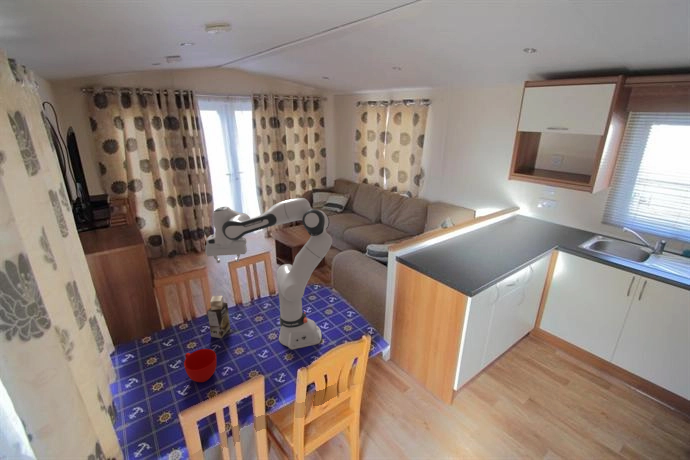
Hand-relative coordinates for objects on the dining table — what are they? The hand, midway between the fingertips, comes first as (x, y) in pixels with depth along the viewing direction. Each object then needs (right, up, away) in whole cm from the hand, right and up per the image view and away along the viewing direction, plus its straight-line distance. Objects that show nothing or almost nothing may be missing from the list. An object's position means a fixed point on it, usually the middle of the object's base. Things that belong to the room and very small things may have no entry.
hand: (227, 261), depth 169 cm
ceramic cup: (-3, -49, -25) cm, 55 cm away
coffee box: (-5, -38, +3) cm, 39 cm away
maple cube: (-4, -23, -3) cm, 24 cm away
